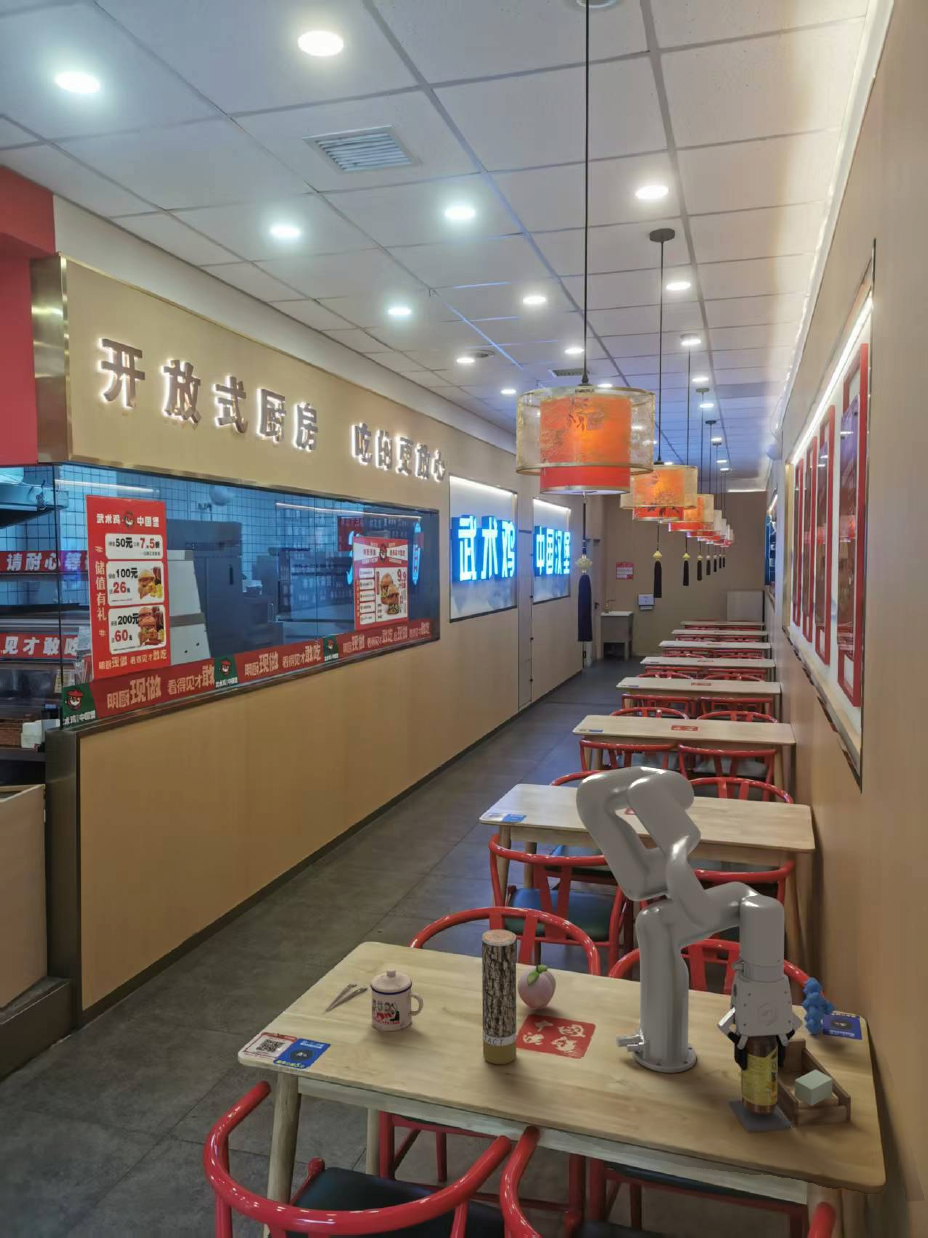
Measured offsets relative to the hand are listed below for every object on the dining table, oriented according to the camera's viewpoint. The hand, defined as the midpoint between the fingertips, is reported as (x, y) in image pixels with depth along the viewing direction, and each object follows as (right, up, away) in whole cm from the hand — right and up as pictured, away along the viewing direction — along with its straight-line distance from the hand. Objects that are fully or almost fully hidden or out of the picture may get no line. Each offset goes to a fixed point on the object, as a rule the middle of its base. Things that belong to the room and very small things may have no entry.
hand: (759, 1064), depth 159 cm
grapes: (+22, -8, +28) cm, 36 cm away
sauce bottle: (0, -8, 0) cm, 8 cm away
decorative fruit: (-37, -8, +39) cm, 55 cm away
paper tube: (-46, -9, +20) cm, 51 cm away
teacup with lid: (-68, -8, +34) cm, 76 cm away
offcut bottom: (+10, -10, +1) cm, 14 cm away
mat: (0, -10, 0) cm, 10 cm away
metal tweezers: (-82, -8, +43) cm, 93 cm away
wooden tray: (+10, -9, +7) cm, 15 cm away
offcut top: (+10, -6, +1) cm, 12 cm away
